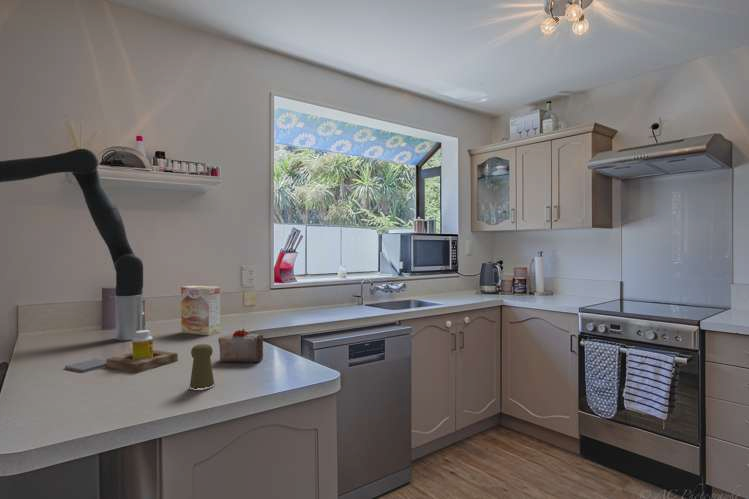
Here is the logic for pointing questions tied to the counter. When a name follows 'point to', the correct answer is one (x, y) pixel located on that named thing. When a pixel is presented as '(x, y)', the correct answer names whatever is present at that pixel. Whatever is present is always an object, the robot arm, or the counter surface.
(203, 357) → the cork
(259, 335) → the food item
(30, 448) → the counter surface
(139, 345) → the supplement bottle
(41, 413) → the counter surface
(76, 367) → the coaster
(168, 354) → the board
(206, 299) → the coffeecake box
